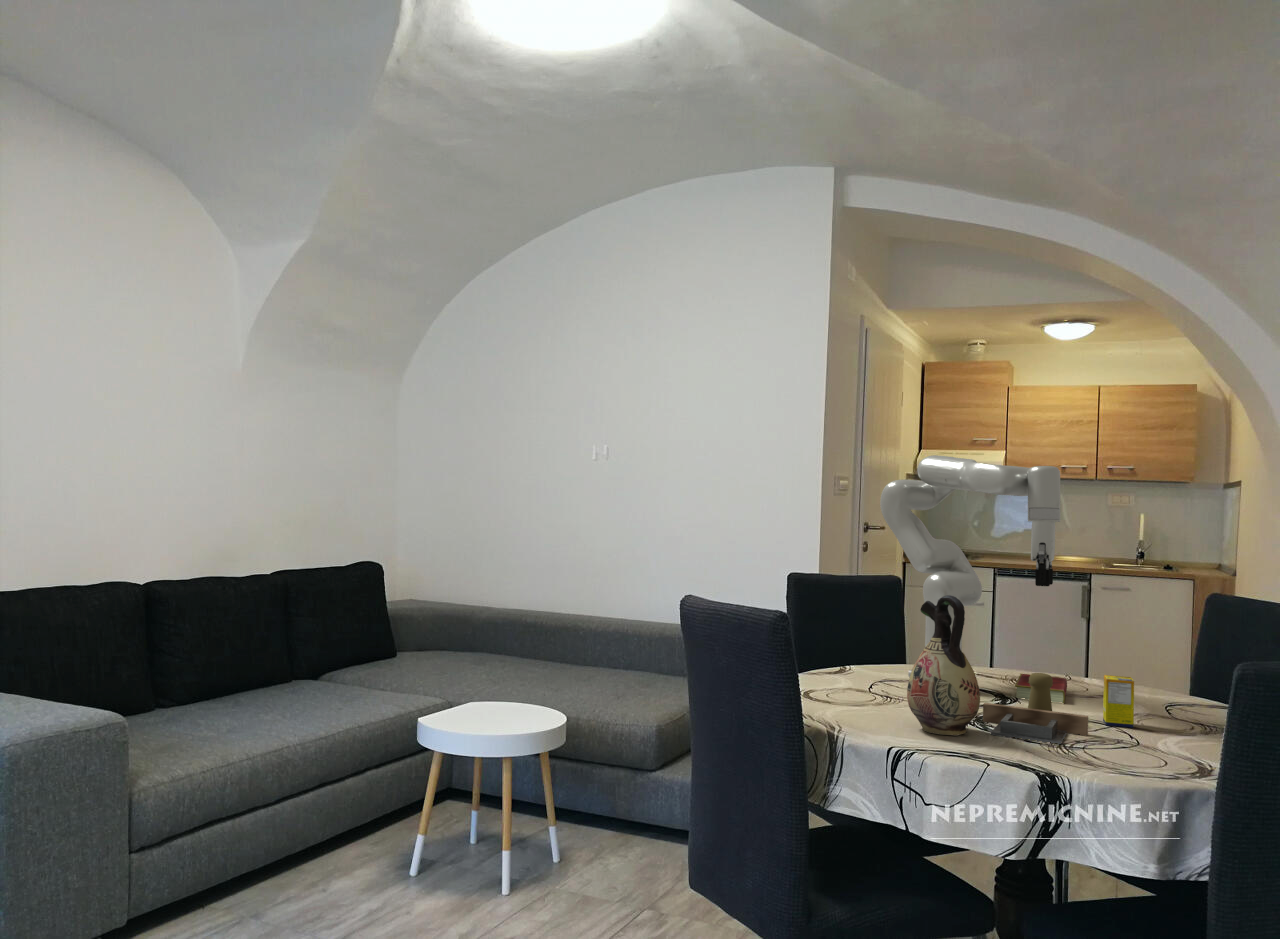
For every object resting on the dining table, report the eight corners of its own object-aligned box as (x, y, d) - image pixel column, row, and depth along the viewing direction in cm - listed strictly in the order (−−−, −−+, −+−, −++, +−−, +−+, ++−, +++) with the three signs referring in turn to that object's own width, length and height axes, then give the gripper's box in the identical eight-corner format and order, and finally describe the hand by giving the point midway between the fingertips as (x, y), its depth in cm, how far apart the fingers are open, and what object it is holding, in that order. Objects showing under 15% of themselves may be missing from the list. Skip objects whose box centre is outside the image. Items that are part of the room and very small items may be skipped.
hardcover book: (1067, 692, 271) (1067, 677, 271) (1064, 706, 252) (1065, 689, 252) (1020, 687, 276) (1020, 672, 277) (1014, 700, 257) (1015, 684, 257)
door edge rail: (982, 721, 228) (983, 703, 228) (984, 719, 229) (984, 702, 230) (1087, 735, 217) (1087, 717, 217) (1087, 734, 219) (1088, 715, 219)
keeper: (990, 734, 214) (991, 720, 214) (1000, 724, 225) (1000, 711, 225) (1060, 744, 208) (1060, 729, 208) (1066, 733, 218) (1067, 719, 218)
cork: (1021, 717, 234) (1022, 670, 234) (1045, 718, 234) (1046, 671, 235) (1033, 723, 228) (1034, 675, 228) (1058, 723, 228) (1059, 676, 229)
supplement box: (1130, 723, 232) (1131, 676, 232) (1133, 728, 226) (1134, 680, 227) (1102, 720, 234) (1103, 674, 234) (1105, 725, 228) (1106, 678, 229)
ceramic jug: (891, 724, 221) (895, 590, 221) (948, 721, 226) (952, 590, 227) (939, 743, 205) (944, 598, 206) (999, 739, 210) (1003, 598, 211)
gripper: (1031, 516, 255) (1031, 583, 254) (1024, 515, 239) (1024, 586, 238) (1062, 516, 251) (1063, 584, 250) (1057, 515, 236) (1058, 587, 235)
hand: (1044, 585), depth 244 cm, fingers open, 9 cm apart
